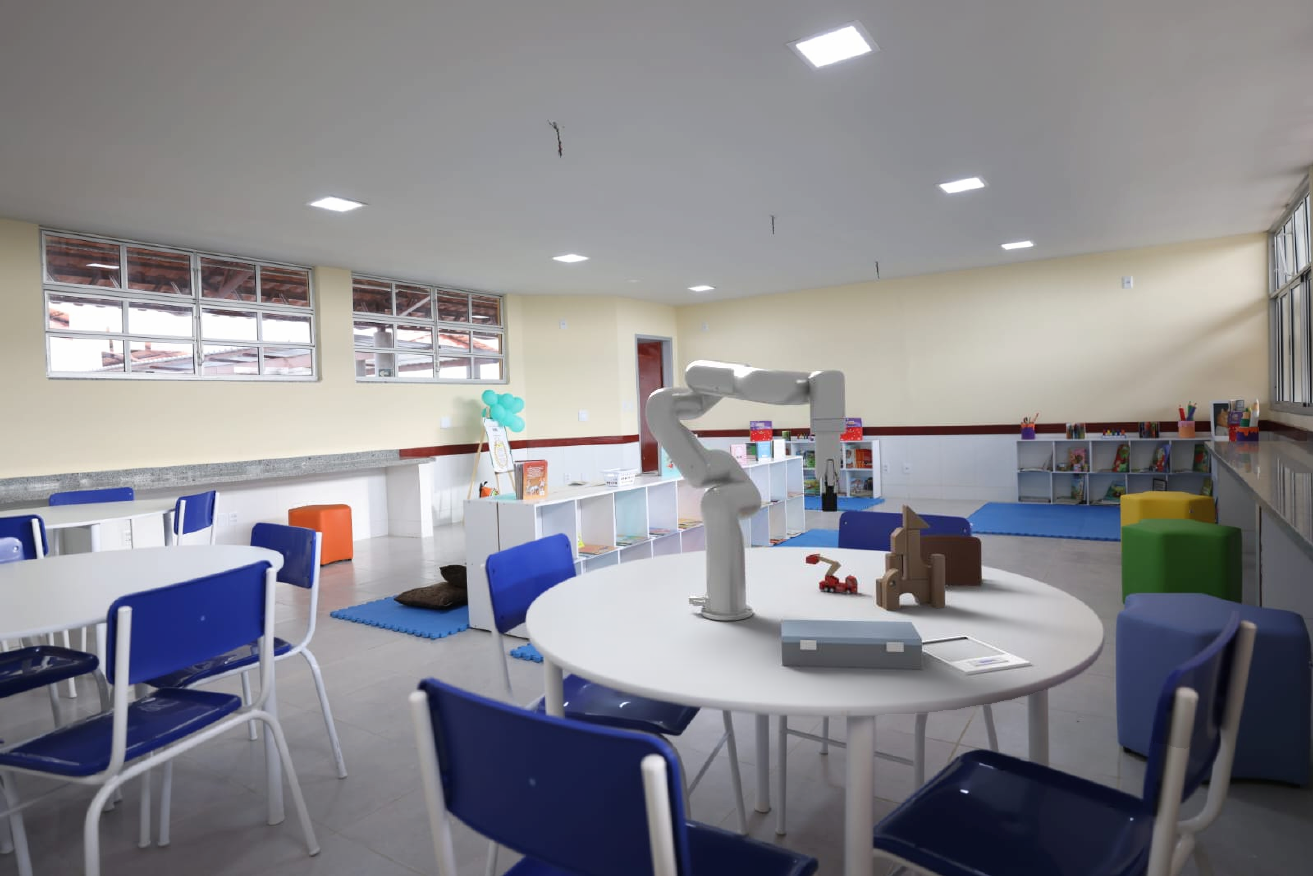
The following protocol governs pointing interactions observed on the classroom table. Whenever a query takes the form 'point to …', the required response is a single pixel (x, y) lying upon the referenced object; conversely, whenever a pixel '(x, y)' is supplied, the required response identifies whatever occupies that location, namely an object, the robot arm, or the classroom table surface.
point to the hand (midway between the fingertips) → (829, 511)
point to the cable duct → (852, 656)
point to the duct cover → (850, 633)
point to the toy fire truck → (833, 577)
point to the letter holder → (954, 557)
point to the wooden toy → (910, 568)
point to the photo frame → (980, 659)
